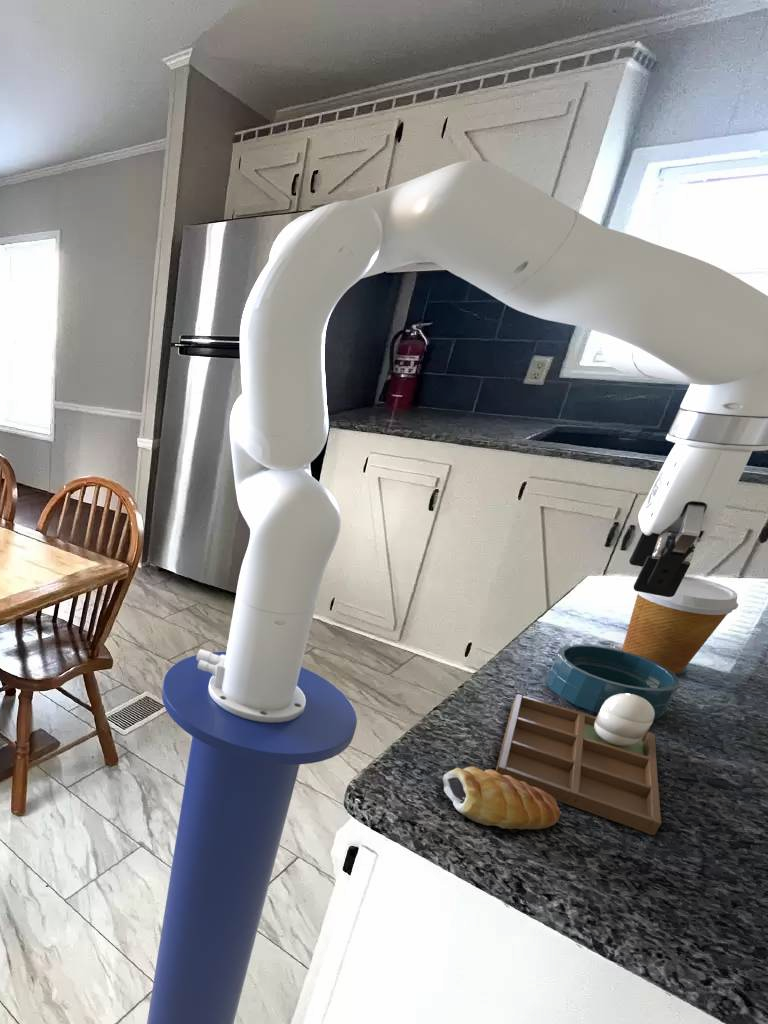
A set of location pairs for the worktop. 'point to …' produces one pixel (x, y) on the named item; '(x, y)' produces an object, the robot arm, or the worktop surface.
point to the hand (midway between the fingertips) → (649, 579)
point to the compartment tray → (581, 764)
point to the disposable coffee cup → (677, 622)
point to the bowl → (609, 677)
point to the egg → (624, 719)
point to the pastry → (499, 799)
